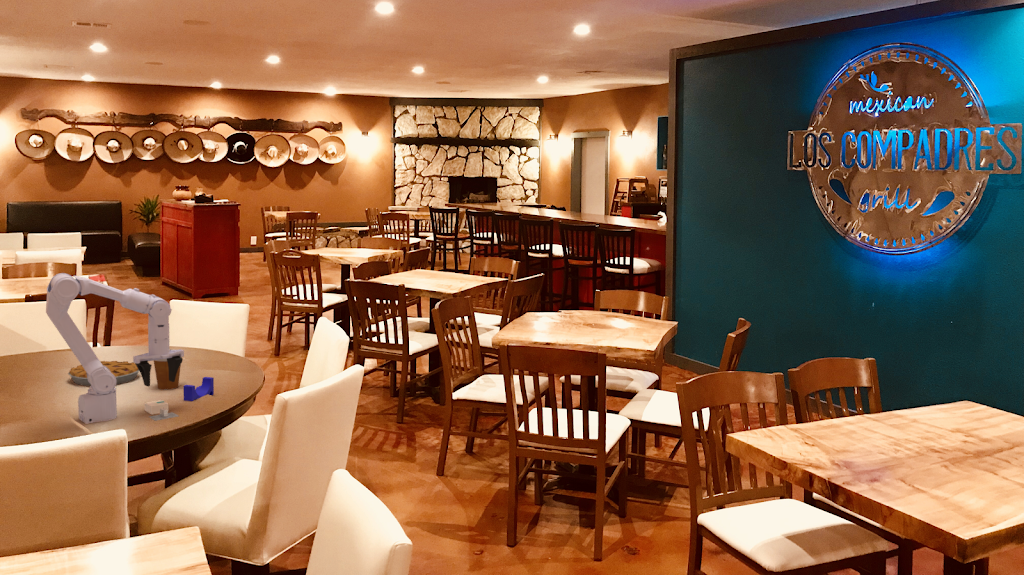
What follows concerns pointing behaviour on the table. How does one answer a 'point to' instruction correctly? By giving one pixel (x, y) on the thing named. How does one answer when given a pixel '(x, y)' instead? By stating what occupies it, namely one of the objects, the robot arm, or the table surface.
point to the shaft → (163, 412)
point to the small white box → (155, 406)
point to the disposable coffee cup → (165, 374)
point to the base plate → (158, 417)
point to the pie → (118, 369)
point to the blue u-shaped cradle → (199, 389)
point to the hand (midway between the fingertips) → (159, 383)
